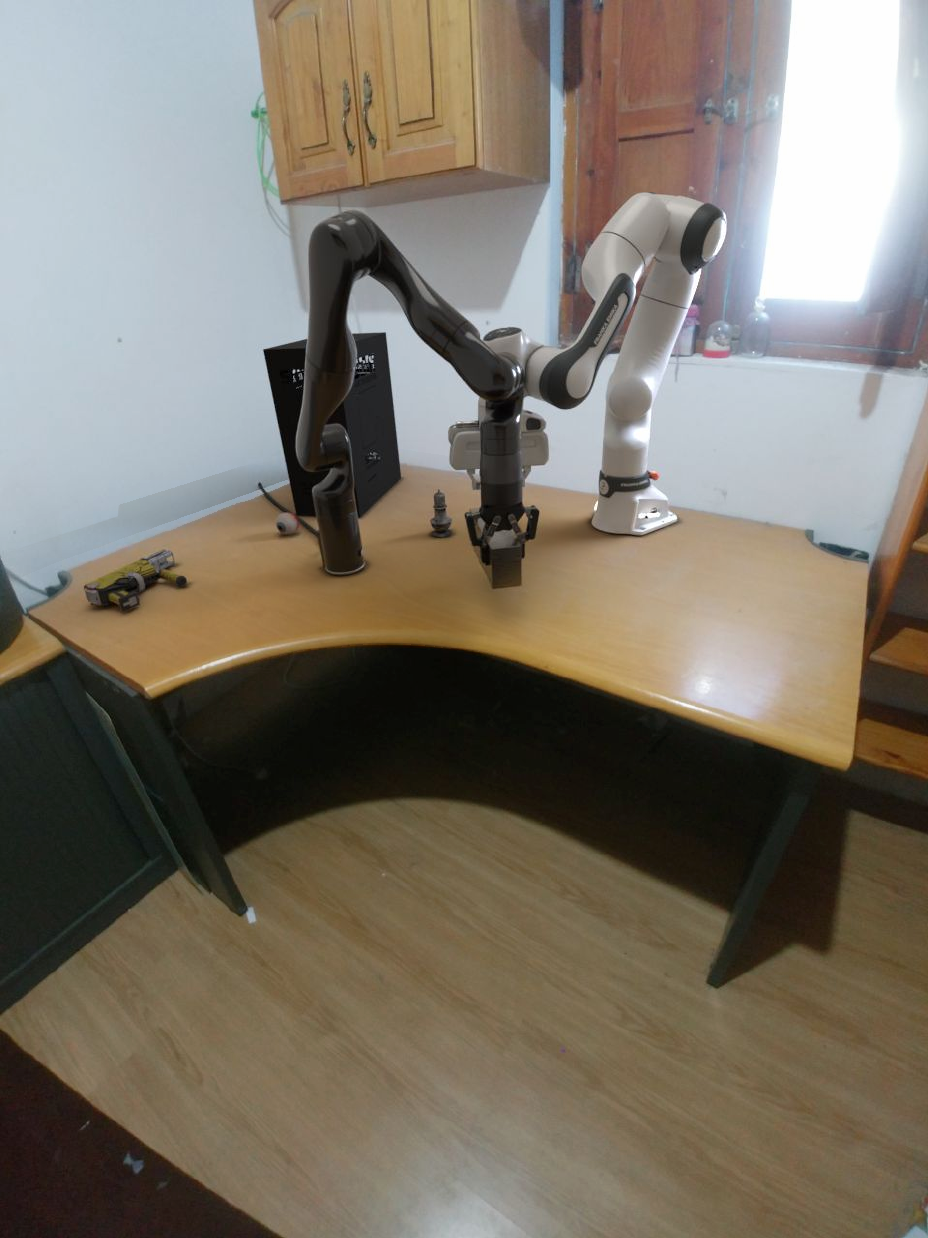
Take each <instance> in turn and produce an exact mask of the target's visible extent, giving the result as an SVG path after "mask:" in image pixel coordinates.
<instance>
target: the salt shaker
mask: <svg viewBox="0 0 928 1238" xmlns="http://www.w3.org/2000/svg"><path fill="white" fill-rule="evenodd" d="M432 508H433V509H434V516H433V517H432V518H431V519H430V520H429V523H430V525H431V527H432V528H433V531H432V532H431V535H432V536H433V537H437V538H444V537H448V536H450V535H452V533H453V531H452V530H451V529H450V528H451V525H452V522H453V519H452V517H450V516H448V514H447V508H448V505H447V504H446V495H445V493H443V492H441V490H440V489H439V488H438V489H437V492H435V493H434V494H433V506H432Z"/></svg>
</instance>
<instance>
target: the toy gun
mask: <svg viewBox="0 0 928 1238" xmlns="http://www.w3.org/2000/svg"><path fill="white" fill-rule="evenodd" d="M171 557H172V561H171V560H168V558H171ZM175 563H176V561H175V556H174V552H173V551H172V550H169V549H168V550H167V549H165V548H162V549H161V550H159V551H155V552H154V553H152V554H150V555H148V556H146V557H141V558H140V559H138V560H135V561H133V562H131V563H129V564H127V565H125V566H122V567H120V568H118V569H116V570H114V571H111V572H109V573H107V574H105V575H103V576H101V577H98V578H97V579H94V580H92V581H90V582H88V583H86V584H84V585H83V590H84V593H85V597H86V600H87V602H88V603H89V604H90V606H94V607H98V606H109V605H113V604H116V605H118V606H119V607H120V611H121V612H122V613H123V612H127V611H129V610H131V609H134V608H136V607H138V606H141V605H140V604H141V603H140V599H139V595H138V594H139V593H140V592H142V591H144V590H145V589H146V586H148V585H150V584H152V583H155V582H158V581H159V579H161V580H165V581H166V582H168V583H172V584H173V585H176V586H178V587H179V588H181V587H185V586H186V585H187V583H188V580H187V577H185V575H180V574H179V573H175V572H173V571H170V570H169V569H167V568H169V567H170V566H174V565H175Z"/></svg>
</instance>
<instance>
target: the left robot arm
mask: <svg viewBox="0 0 928 1238" xmlns="http://www.w3.org/2000/svg"><path fill="white" fill-rule="evenodd" d="M307 247H308V249H307V262H308V263H307V265H308V266H307V267H308V297H309V298H308V299H309V300H308V303H309V304H308V318H307V319H308V320H307V323H308V324H307V337H306V339H307V346H306V357H305V373H304V391H303V401H302V407H301V413H300V418H299V423H298V428H297V434H296V453H297V458H298V461H299V463H300V465H301V466H302V468H303V469H305V470H306V471H309V472H319V471H323V470H328V469H330V472H329V473H328V475H327V476H326V477H325V478H324V479H323V480H322V481H320V482H319V483H317V484H316V485H315V486H314V487H313V489H312V495H313V501H314V506H315V511H316V516H315V517H316V521H317V527H318V529H317V530H316V529H315V528H314V527H312V526H311V525H310V524H309V523H307V521H304V520H303V519H302V518H300V517H299V515H296V513H295V514H294V512H292V511H290V510H289V509H287V508H286V507H285V506H283V505H281V504H280V503H279V501H277V500H275V499H274V498H273V497H272V496H271V495H270V494H269V493H268V492H267V490H265V488H264V487H263V484H262V482H258V483H257V486H258V487H259V490H260V491H261V492H262V493H263V495H264V496H265V497H266V498H267V499H268V500H269V501H270V502H272V504H274V505H275V506H276V507H277V508H279V509H280V510H282V511H283V512H284V513H285V512H288V513H292V514H294V515H295V516H296V517H297V519H298V521H299V524H302V525H303V526H304V527H305V528H307V529H308V530H309V531H310V532H312V534H314V535H315V536H316V537H317V542H318V546H319V553H320V558H321V563H322V568H323V569H325V571H326V573H327V574H330V575H333V576H347V575H352V574H356V573H358V572H360V571H362V570H363V569H365V566H366V562H365V561H366V560H365V557H364V554H365V545H363V544H362V543H363V541H362V538H361V537H362V536H361V530H360V523H359V517H358V515H357V509H356V502H355V495H354V475H353V464H352V453H351V445H350V440H349V437H348V434H347V432H346V430H345V428H344V427H343V426H342V425H341V424H339V423H330V424H326V422H327V420H328V419H329V417H330V416H331V415H332V413H333V412H334V411H335V410H336V409H337V408H338V406H339V405H340V404H341V403H342V401H343V400H344V399H345V397H346V396H347V394H348V393H349V391H350V389H351V387H352V384H353V381H354V375H355V369H357V367H356V363H358V361H357V348H356V344H355V340H354V338H353V335H352V334H353V333H352V330H351V329H350V328H351V327H349V326H350V325H349V322H348V313H349V312H348V311H349V304H350V299H351V294H352V289H353V287H354V285H355V283H356V282H357V281H359V280H361V279H364V277H367V276H369V277H370V278H372V279H374V280H376V281H377V282H379V283H380V284H381V285H382V286H384V287H385V289H387V290H388V291H389V292H390V293H391V294H392V295H393V297H394V298H395V299H396V301H397V303H398V304H399V306H400V307H401V309H402V312H403V314H404V316H405V318H406V319H407V321H408V324H409V325H410V327H411V329H412V330H413V331H414V333H415V334H416V335H417V336H418V337H419V339H420V340H421V341H422V342H423V343H424V344H426V346H428V347H429V348H430V349H431V350H432V351H433V352H435V353H436V354H437V355H438V356H439V357H441V358H442V359H443V360H444V361H445V362H446V363H448V364H449V365H450V366H451V367H452V368H453V369H454V371H455V372H456V374H457V375H458V376H459V377H460V378H461V379H462V381H463V382H464V383H465V385H466V386H467V387H468V388H469V389H470V390H471V391H472V392H473V393H474V394H475V395H476V396H477V397H478V398H479V397H481V398H482V399H484V400H486V402H485V414H484V417H483V419H482V421H481V425H480V444H481V457H480V469H479V473H478V474H479V481H480V507H479V508H480V509H479V511H478V512H475V513H471V514H470V511H466V512H465V513H464V515H463V516H464V520H465V524H466V525H465V526H466V528H467V534H468V538H469V541H470V544H471V543H472V545H473V546H479V547H480V558H481V560H482V563H484V564H485V566H488V565H489V548H488V545H489V542H490V540H491V538H492V537H493V535H494V533H495V532H499V531H502V530H507V531H509V530H512V532H513V533H514V535H515V536H516V538H517V539H518V541H519V543H520V544H521V546H522V560H523V559H525V557H526V543H527V542H528V541H530V540H531V541H533V540H535V538H536V536H537V535H536V534H537V529H538V523H539V519H540V517H539V516H540V510H539V508H538V507H537V506H536V505H534V504H533V505H530V506H524V504H523V503H524V502H523V487H522V472H523V469H522V456H521V427H520V421H521V413H522V406H523V407H524V401H523V398H524V388H525V374H524V368H523V365H522V363H521V361H520V360H519V359H518V357H517V356H515V355H514V354H512V353H509V352H500V353H497V354H496V353H495V352H494V351H493V350H491V349H490V348H489V347H488V346H487V345H486V344H485V343H484V342H483V341H482V340H483V339H481V333H480V331H479V329H478V328H477V327H476V326H475V324H473V323H472V322H471V321H470V320H468V319H467V318H466V317H465V316H464V315H463V314H462V313H460V312H459V311H458V310H457V309H456V308H455V307H454V306H453V305H451V304H450V303H449V302H448V301H446V300H445V298H443V296H441V295H440V294H439V293H438V292H437V291H436V290H435V289H434V288H433V287H432V286H431V285H430V284H429V283H428V282H427V281H426V280H425V279H424V278H423V276H422V275H421V274H420V273H419V272H418V271H417V270H416V268H415V267H414V266H413V265H412V264H411V262H410V261H409V260H408V259H407V258H406V257H405V255H404V254H403V253H402V252H401V251H400V250H399V249H398V247H397V246H396V245H395V244H394V243H393V241H392V240H391V239H390V237H388V234H386V233H385V232H384V231H383V230H382V228H381V227H380V226H379V225H378V224H377V223H376V221H374V220H373V219H372V218H371V217H370V216H369V215H368V214H366V213H365V212H363V211H361V210H357V209H348V210H345V211H342V212H340V213H339V212H338V213H337V214H335V215H333V216H330V217H328V218H326V219H323V220H321V221H320V222H318V223H317V224H316V225H315V226H314V227H313V229H312V230H311V233H310V236H309V239H308V246H307ZM524 399H525V398H524ZM524 515H525V516H526V518H527V522H526V528H525V531H522V529H521V527H520V525H519V522H520V521H521V519H522V518H523V516H524ZM479 518H481V519H482V520H483V521H484V522H485V525H484V528H483V532H482V535H481V537H480V538H479V537H477V534H476V529H475V525H477V523H478V519H479ZM472 545H471V546H472Z"/></svg>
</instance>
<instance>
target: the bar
mask: <svg viewBox="0 0 928 1238" xmlns="http://www.w3.org/2000/svg"><path fill="white" fill-rule="evenodd" d="M479 509H480V507H475V508H469V513H470V514H471V513H475V512H478V511H479ZM484 525H485V522H484V521H483V520H482V519H481V518H479V519H478V523H477V525H475V529H476V534H477V537H479V538H480V537H481V535H482V532H483V528H484ZM470 545H471V547H472V549H473V552H474V554H475V556H476V558H477V560H478V562H479V564H480V566H481V569H482V571H483V572H484V575H485V577H486V579H487V581H488V583H489V586H490V588H491V589H492V590H501V589H508V588H516V587H522V586H523V582H522V581H523V578H522V577H523V576H522V575H523V574H522V573H523V572H522V571H523V563H522V562H523V559H522V546H521V544H520V543H519V541H518V539H517V537H516V535H515V533H514V531H513V529H512V530H509V531H507V530H502V531H499V532H495V533H494V535H493V537H492V538H491V540H490V542H489V545H488V548H489V565H488V566H485V564H484V563H482V560H481V558H480V547H479V546H473V545H472V543H471V542H470Z"/></svg>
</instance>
